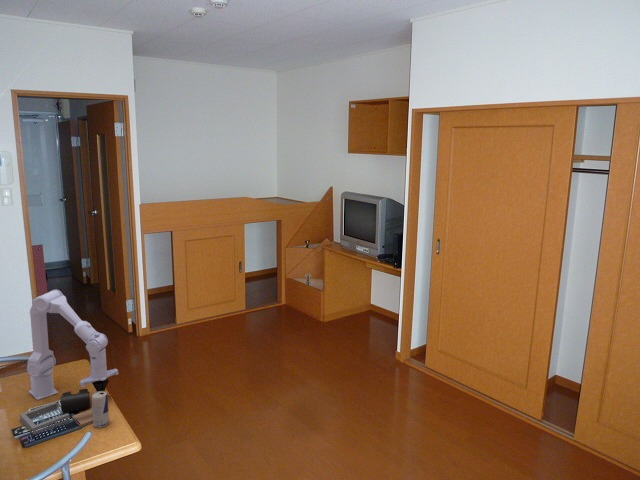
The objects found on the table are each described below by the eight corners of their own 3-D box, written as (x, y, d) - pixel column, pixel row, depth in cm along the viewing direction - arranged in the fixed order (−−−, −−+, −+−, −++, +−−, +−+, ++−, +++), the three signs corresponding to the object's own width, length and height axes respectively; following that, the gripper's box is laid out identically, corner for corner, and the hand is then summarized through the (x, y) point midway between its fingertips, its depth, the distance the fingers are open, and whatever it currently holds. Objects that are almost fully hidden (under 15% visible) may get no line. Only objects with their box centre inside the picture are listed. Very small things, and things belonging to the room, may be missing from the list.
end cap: (61, 416, 187) (60, 400, 185) (61, 407, 193) (60, 391, 192) (90, 410, 191) (89, 394, 190) (90, 402, 197) (88, 386, 196)
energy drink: (112, 421, 184) (110, 391, 182) (103, 429, 179) (101, 399, 177) (99, 419, 186) (97, 389, 183) (90, 427, 180) (88, 397, 178)
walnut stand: (72, 419, 185) (71, 416, 185) (93, 410, 191) (93, 407, 191) (81, 427, 180) (81, 424, 180) (103, 418, 186) (102, 415, 186)
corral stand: (20, 420, 183) (19, 414, 183) (56, 407, 193) (55, 401, 192) (33, 434, 175) (32, 428, 174) (69, 420, 184) (69, 414, 184)
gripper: (84, 374, 188) (87, 407, 191) (121, 362, 199) (122, 393, 202) (76, 368, 193) (79, 400, 195) (112, 357, 203) (114, 387, 206)
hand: (100, 396), depth 199 cm, fingers closed
